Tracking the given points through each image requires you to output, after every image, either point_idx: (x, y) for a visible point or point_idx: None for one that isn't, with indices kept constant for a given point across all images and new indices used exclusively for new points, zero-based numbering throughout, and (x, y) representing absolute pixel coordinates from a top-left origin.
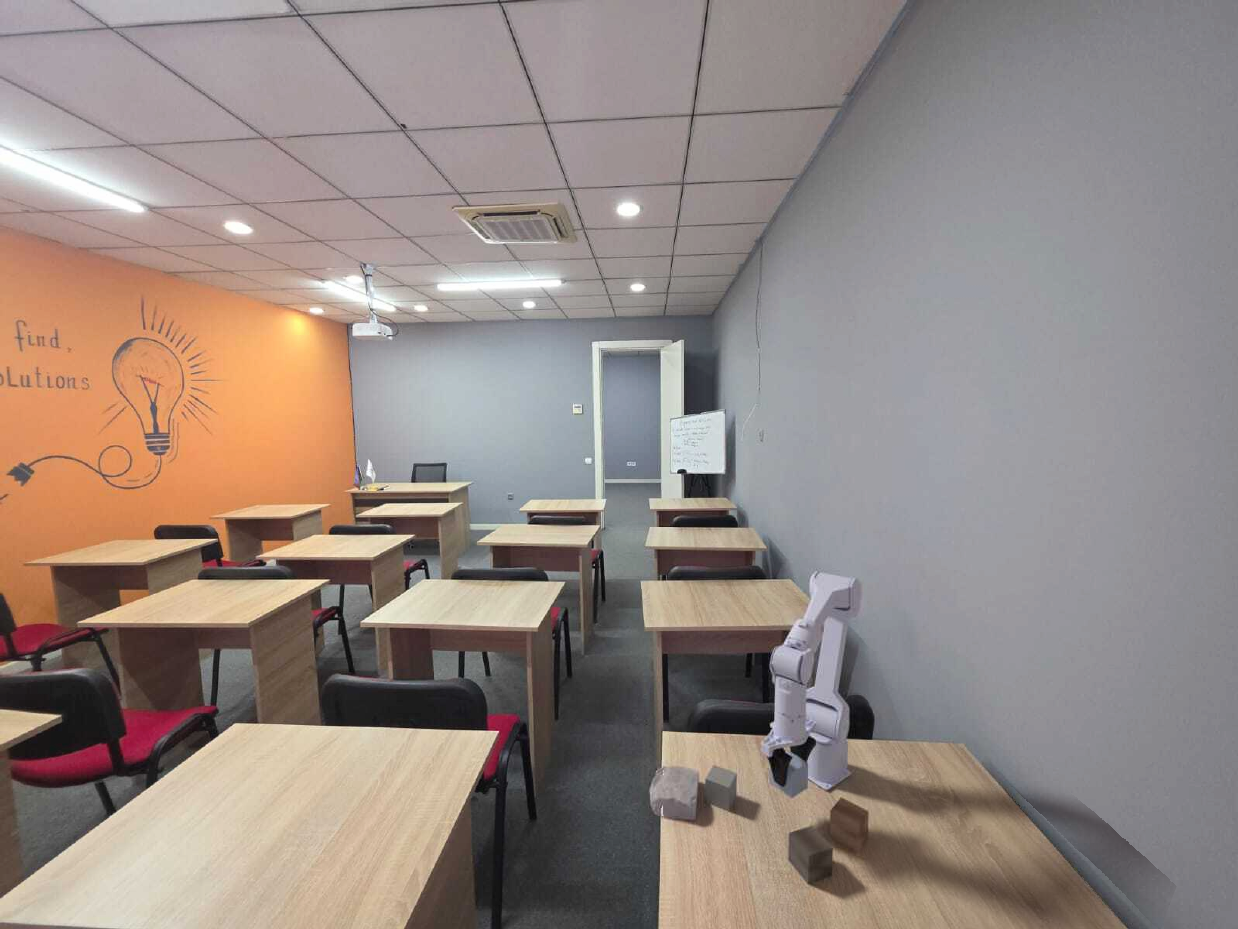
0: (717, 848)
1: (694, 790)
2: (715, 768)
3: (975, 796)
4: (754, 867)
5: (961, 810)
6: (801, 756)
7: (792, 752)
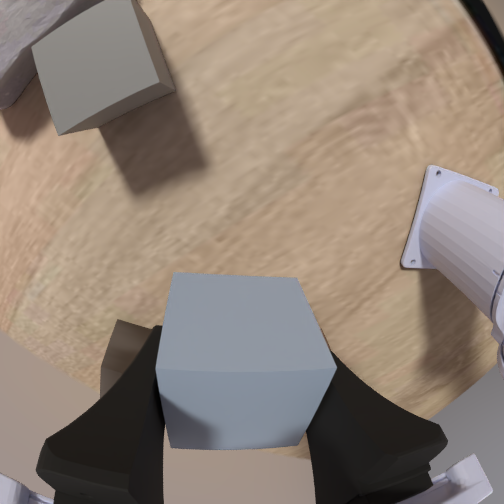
0: (4, 206)
1: (5, 60)
2: (110, 10)
3: (473, 372)
4: (43, 286)
5: (445, 381)
6: (314, 433)
7: (329, 394)
